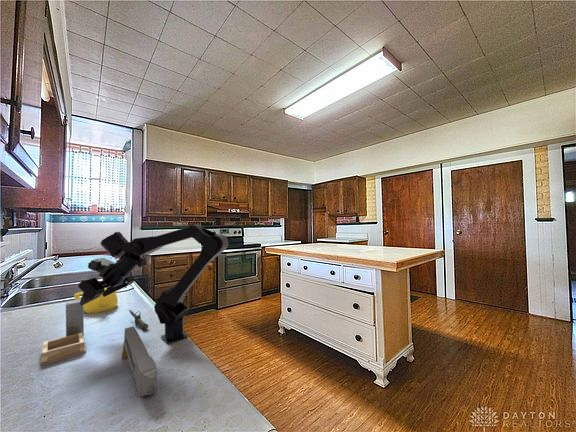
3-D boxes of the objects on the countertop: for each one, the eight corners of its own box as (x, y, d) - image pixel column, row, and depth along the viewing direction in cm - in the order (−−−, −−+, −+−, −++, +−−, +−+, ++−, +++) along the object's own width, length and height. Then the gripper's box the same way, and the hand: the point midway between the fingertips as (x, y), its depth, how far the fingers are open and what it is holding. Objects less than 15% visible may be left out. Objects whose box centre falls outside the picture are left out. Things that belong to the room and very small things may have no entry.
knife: (125, 315, 101) (126, 303, 101) (131, 313, 103) (131, 301, 102) (143, 334, 89) (143, 321, 89) (149, 332, 90) (149, 319, 90)
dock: (85, 352, 75) (85, 341, 75) (40, 365, 69) (40, 354, 69) (83, 341, 82) (83, 332, 82) (41, 352, 76) (41, 342, 76)
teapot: (73, 307, 117) (72, 284, 117) (113, 299, 127) (113, 278, 127) (75, 321, 100) (75, 293, 100) (121, 310, 111) (121, 286, 111)
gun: (138, 433, 56) (144, 381, 52) (117, 353, 73) (120, 309, 69) (154, 425, 58) (161, 374, 55) (129, 349, 75) (134, 306, 71)
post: (83, 337, 85) (83, 301, 86) (66, 341, 82) (66, 304, 83) (82, 333, 89) (82, 298, 89) (65, 337, 86) (65, 301, 86)
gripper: (126, 247, 95) (98, 276, 95) (83, 253, 76) (49, 290, 76) (147, 267, 94) (119, 297, 95) (109, 279, 75) (74, 317, 76)
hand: (92, 299), depth 85 cm, fingers open, 9 cm apart
